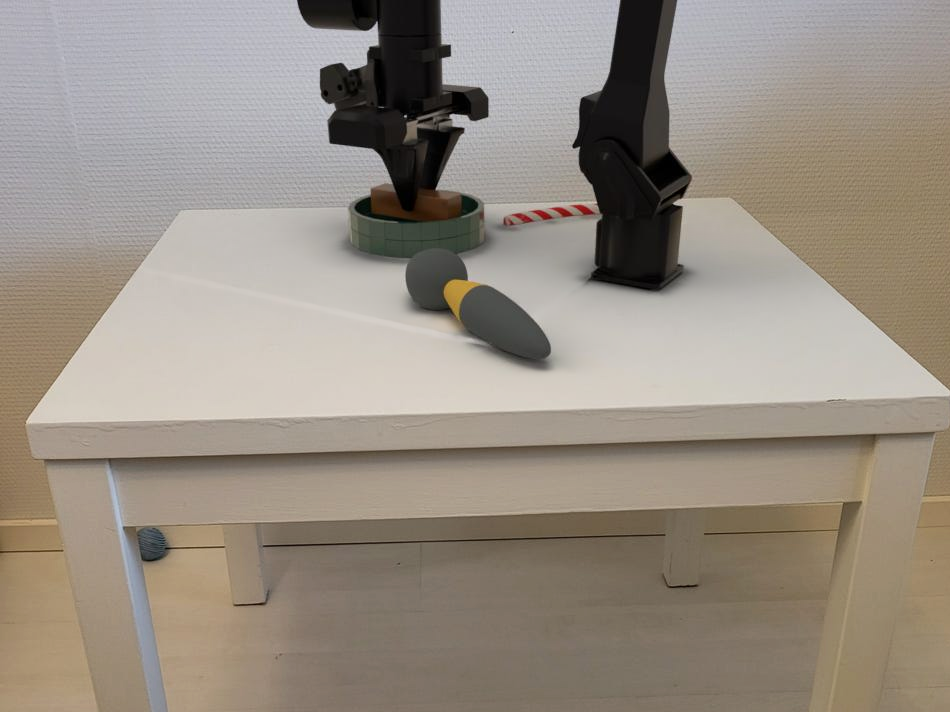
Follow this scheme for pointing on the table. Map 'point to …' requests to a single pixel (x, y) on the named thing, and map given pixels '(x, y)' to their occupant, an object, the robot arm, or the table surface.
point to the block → (416, 204)
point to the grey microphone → (473, 303)
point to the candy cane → (550, 213)
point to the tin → (415, 230)
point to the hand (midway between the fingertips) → (416, 207)
